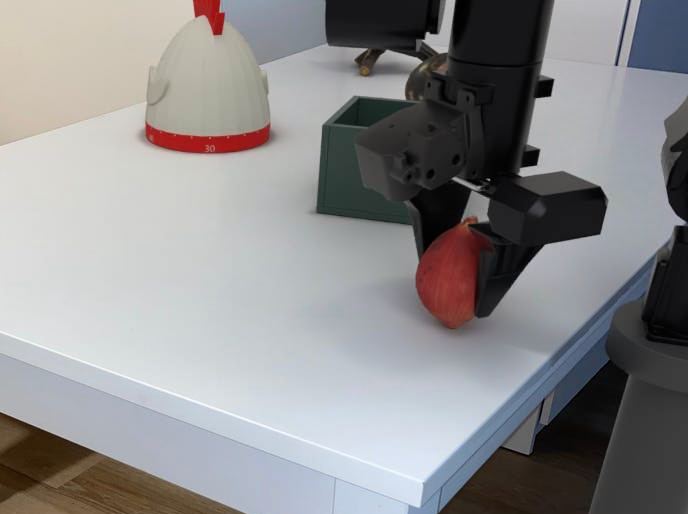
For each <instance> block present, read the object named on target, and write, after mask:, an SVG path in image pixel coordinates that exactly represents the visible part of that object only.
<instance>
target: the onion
mask: <svg viewBox="0 0 688 514" xmlns="http://www.w3.org/2000/svg"><path fill="white" fill-rule="evenodd" d="M478 222H479V219H478V216H475V215H470V216H466V217H465V219H463V220H461V223H459V224H457V225H456V226H455V227H454V228H452V229H450V230H448V231H446V232H444V233H443V234H441V235H440V236H439V237H437V238H436V239H435V240H434V241H433V242H432V243H431V245H430V246H429V247H428V249H427V250H426V252H425V253H424V255H423V256H422V258H421V260H420V262H419V261H418V264H417V268H416V271H415V274H414V275H415V278H414V281H415V283H414V284H415V287H414V288H415V290H416V293H417V295H418V298H419V300H420V302H421V304H422V305H423V307H424V308H425V309H426V310H427V312H429V313H430V314H431V315H432V316H433V317H434V318H435V319H437V320H438V321H439V322H441V324H443V325H444V326H446V328H448V329H458V328H460V327H461V326H462V325H464V324H465V323H467V322H469V321H471V320H473V319H474V318H476V317H475V316H474V297H475V287H476V279H477V270H478V261H479V252H480V245H479V243H478V241H477V240H476V239H475V237H474V236H473V234H472V233H471V232H470V230H469V229H468V227H467V224H472V223H478Z"/></svg>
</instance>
